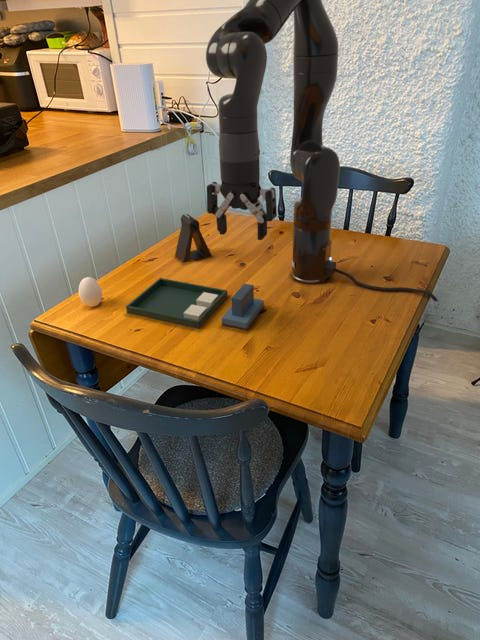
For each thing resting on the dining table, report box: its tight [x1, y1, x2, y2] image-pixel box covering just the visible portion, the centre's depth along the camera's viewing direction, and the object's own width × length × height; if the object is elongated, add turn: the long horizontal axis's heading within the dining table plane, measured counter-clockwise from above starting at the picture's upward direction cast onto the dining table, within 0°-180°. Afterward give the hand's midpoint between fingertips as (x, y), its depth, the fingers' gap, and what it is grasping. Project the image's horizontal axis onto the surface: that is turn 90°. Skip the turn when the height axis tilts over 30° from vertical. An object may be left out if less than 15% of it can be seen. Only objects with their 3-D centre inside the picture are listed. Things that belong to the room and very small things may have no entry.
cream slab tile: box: [184, 305, 207, 320], centre depth 108 cm, size 4×4×2 cm
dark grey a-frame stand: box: [174, 213, 212, 263], centre depth 133 cm, size 9×6×12 cm, turn 119°
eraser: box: [221, 283, 265, 332], centre depth 106 cm, size 6×10×7 cm, turn 156°
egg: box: [78, 276, 103, 308], centre depth 113 cm, size 5×5×8 cm
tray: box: [125, 277, 229, 330], centre depth 112 cm, size 19×15×2 cm
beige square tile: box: [196, 292, 219, 308], centre depth 112 cm, size 4×4×2 cm
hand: (242, 236), depth 97 cm, fingers open, 8 cm apart
